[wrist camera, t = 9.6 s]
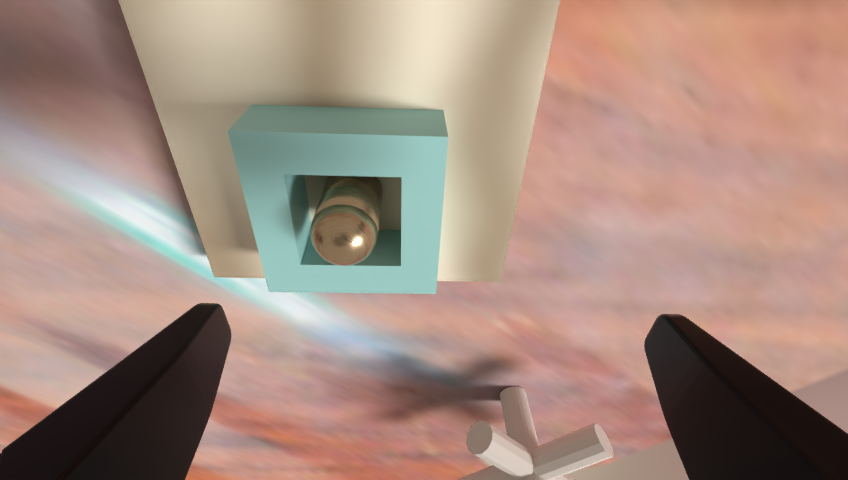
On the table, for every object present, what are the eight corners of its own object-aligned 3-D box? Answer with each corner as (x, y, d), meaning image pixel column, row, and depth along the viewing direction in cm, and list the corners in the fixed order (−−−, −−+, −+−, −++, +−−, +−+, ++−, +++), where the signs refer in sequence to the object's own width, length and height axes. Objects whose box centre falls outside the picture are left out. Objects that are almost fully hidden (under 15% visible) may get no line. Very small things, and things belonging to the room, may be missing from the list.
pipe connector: (412, 392, 29) (413, 571, 21) (534, 326, 25) (592, 513, 17) (496, 444, 33) (523, 606, 25) (610, 395, 29) (684, 568, 21)
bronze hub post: (382, 165, 17) (374, 224, 13) (383, 215, 18) (376, 280, 15) (322, 163, 16) (299, 223, 13) (328, 214, 18) (308, 279, 15)
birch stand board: (652, -544, 9) (921, -1078, 4) (495, 262, 22) (518, 350, 17) (-50, -621, 8) (-667, -1362, 3) (225, 257, 21) (174, 347, 17)
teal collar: (443, 110, 15) (448, 136, 13) (433, 256, 19) (436, 293, 17) (252, 104, 15) (227, 131, 13) (283, 254, 19) (268, 291, 17)
